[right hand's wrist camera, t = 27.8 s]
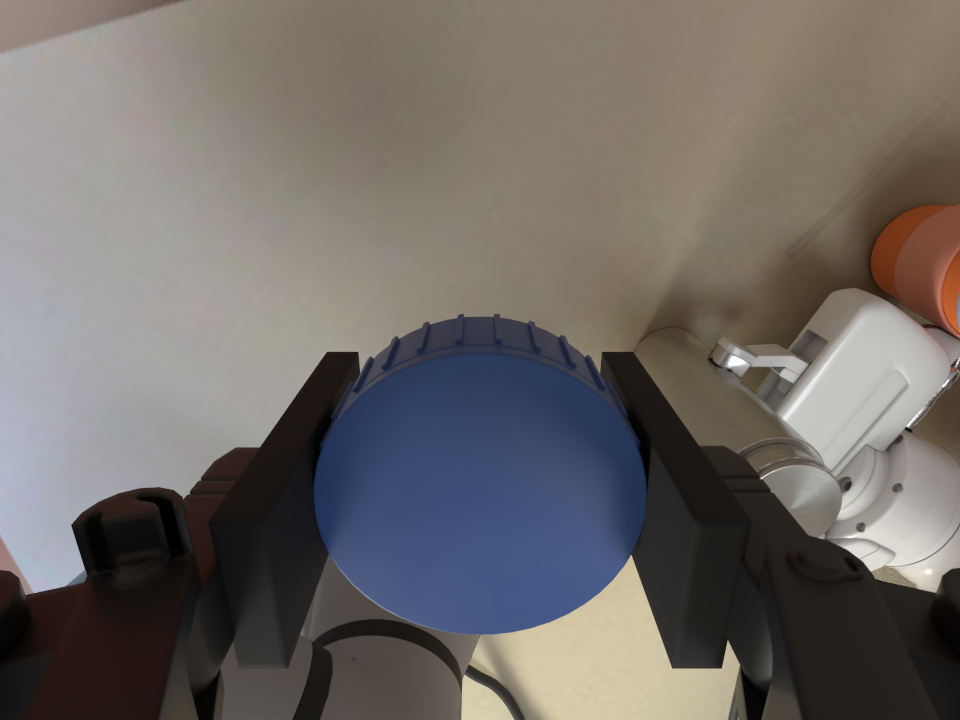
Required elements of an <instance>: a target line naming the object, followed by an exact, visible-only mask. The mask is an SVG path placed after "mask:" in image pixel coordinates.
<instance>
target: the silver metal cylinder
mask: <svg viewBox="0 0 960 720" xmlns="http://www.w3.org/2000/svg"><path fill="white" fill-rule="evenodd" d="M710 353H711V351H710V350H709V349H708V348H706V347H705V346H704V345H703V344H702V343H701V342H700V341H699V340H698V339H697V338H696V337H695V336H694V335H692V334H691V333H690V332H688V331H686V330H683V329H680V328H663V329H659V330H657V331H654V332H652V333H650V334H649V335H648V336H646V337H645V338H644V339H643V340H642V341H641V342H640V343H639V345H638V346H637V348H636V350H635V352H634V354H635V355H636V356H637V358H638V359H639V361H640V362H641V364H642V365H643V366H644V368H645V369H646V371H647V372H648V374H649V375H650V376H651V378H652V379H653V381H654V382H655V384H656V385H657V386H658V388H659V389H660V391H661V392H662V394H663V395H664V396H665V398H666V399H667V401H668V402H669V403H670V405H671V406H672V408H673V409H674V411H675V412H676V413H677V415H678V416H679V418H680V419H681V421H682V422H683V423H684V425H685V426H686V428H687V429H688V431H689V432H690V433H691V435H692V436H693V438H694V439H695V441H696V442H697V443H698V445H699V446H726V447H727V448H729V449H730V450H732V451H734V452H735V453H737V454H738V455H740V456H742V457H743V458H745V459H746V460H747V461H748V462H749V463H750V465H751V466H752V467H753V468H754V469H755V471H756V472H757V473H758V474H759V476H760V479H763V480H764V482H765V483H766V484H767V485H768V487H769V488H770V489H771V493H774V494H775V495H776V496H777V498H778V499H779V500H780V501H781V502H782V504H783V505H784V506H785V507H786V509H787V510H788V511H789V512H790V514H791V515H792V516H793V517H794V518H795V520H796V521H797V522H798V523H799V525H800V526H801V527H802V528H803V529H804V531H805V532H806V533H807V534H808V535H809V536H813V537H817V538H818V537H820V536H821V535H823V534H824V533H825V532H826V531H827V530H828V529H829V528H830V527H831V526H832V524H833V523H834V522H835V520H836V519H837V517H838V515H839V512H840V510H841V506H842V492H841V488H840V486H839V484H838V482H837V480H836V478H835V476H834V474H833V473H832V471H831V470H830V469H829V468H828V467H827V466H826V465H825V464H824V461H823V459H822V457H821V455H820V454H819V453H818V451H817V450H816V449H815V448H814V447H813V446H812V445H811V444H809V443H808V442H807V441H806V440H805V439H804V438H803V437H802V436H801V435H800V434H799V433H798V432H797V431H796V430H794V429H793V428H792V427H791V426H790V425H789V424H788V423H787V422H786V421H785V420H784V419H783V418H782V417H781V416H779V415H778V414H777V413H776V412H775V411H774V410H773V409H772V408H771V407H770V406H769V405H768V404H767V403H765V402H764V401H763V400H762V399H761V398H760V397H759V396H758V395H757V394H756V393H755V392H754V391H753V390H752V389H750V388H749V387H748V386H747V385H746V384H745V383H744V382H743V381H742V380H741V379H740V378H739V377H738V376H737V375H735V374H734V373H733V372H731V371H730V370H729V369H725V368H722V367H721V366H719V365H717V364H716V363H715V362H714V361H713V359H711V358H709V356H708V355H709V354H710Z"/></svg>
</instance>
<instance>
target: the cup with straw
mask: <svg viewBox="0 0 960 720" xmlns="http://www.w3.org/2000/svg"><path fill="white" fill-rule="evenodd" d="M871 272H872V275H873V278H874V280H875V282H876V283H877V285H878V286H879V287H880V288H881V289H882V290H883V291H884V292H886V293H887V294H889V295H891V296H893V297H894V298H896V299H898V300H900V301H901V302H903V304H904V305H905V306H906V307H907V308H909V309H910V310H911V311H913V312H914V313H916V314H918V315H920V316H921V317H923V318H925V319H927V320H928V321H930V322H932V323H934V324H935V325H937V326H939V327H941V328H942V329H944V330H946V331H948V332H950V333H951V334H953V335H955V336H957V337H958V338H960V204H958V205H927V206H921V207H917V208H914V209H911V210H909V211H907V212H905V213H903V214H901V215H900V216H898V217H897V218H895V219H894V220H893V221H892V222H891V223H890V224H889V225H887V227H886V228H885V229H884V230H883V231H882V233H881V234H880V236H879V237H878V239H877V241H876V243H875V245H874V248H873V251H872V255H871Z"/></svg>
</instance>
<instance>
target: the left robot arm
mask: <svg viewBox="0 0 960 720" xmlns="http://www.w3.org/2000/svg"><path fill="white" fill-rule="evenodd" d="M708 356H709V358H711V359H713V361H714V362H715V363H716V364H717V365H719V366H721V367H722V368H725V369H729V370H730V371H731V372H733V373H734V374H735V375H737V376H739V377H742V376H743V375H744V373H745V372H746V371H747V370H748V368H749V367H769V368H771V369H772V370H771V372H770V373H769V374H768V376H767V377H766V378H765V380H764V381H763V382H762V383H761V385H760V386H759V387H758V389H757V390H756V391H755V393H756V394H757V395H758V396H759V397H760V398H761V399H762V400H763V401H764V402H765V403H767V404H768V405H769V406H770V407H771V408H772V409H773V410H774V411H775V412H776V413H777V414H778V415H779V416H781V417H782V418H783V419H784V420H785V421H786V422H787V423H788V424H789V425H790V426H791V427H792V428H793V429H794V430H796V431H797V432H798V433H799V434H800V435H801V436H802V437H803V438H804V439H805V440H806V441H807V442H808V443H809V444H811V445H812V446H813V447H814V448H815V449H816V450H817V451H818V453H819V454H820V455H821V457H822V459H823V461H824V464H825V465H826V466H827V467H828V468H829V469H830V470H831V471H832V473H833V474H834V476H835V478H836V480H837V482H838V484H839V486H840V488H841V492H842V506H841V510H840V512H839V515H838V517H837V519H836V520H835V522H834V523H833V524H832V526H831V527H830V528H829V529H828V530H827V531H826V532H825V533H824V534H823V535H821V536H820V537H818V538H820V539H824V540H828V541H830V542H832V543H834V544H836V545H838V546H840V547H842V548H845V549H847V550H848V551H850V552H851V553H852V554H853V555H855V556H856V557H857V558H859V559H860V560H861V561H863V562H864V564H865V565H866V566H867V568H868V569H869V570H870V572H871V571H873V570H876V569H879V568H881V567H883V566H887V567H891V568H894V569H896V570H897V571H898V572H899V573H900V574H902V575H903V576H904V577H906V578H907V579H909V580H910V581H911V582H913V583H915V584H916V589H920V590H925V591H930V592H934V593H936V592H937V589H938V586H939V583H940V581H941V578H942V575H944V574H945V573H947V572H948V571H949V570H951V569H954V568H960V462H959V461H958V460H957V459H956V458H955V457H954V456H953V455H952V454H950V453H949V452H947V451H946V450H945V449H943V448H941V447H939V446H938V445H936V444H934V443H932V442H930V441H928V440H927V439H925V438H923V437H921V436H919V435H917V434H915V433H914V432H912V430H913V429H914V427H916V426H917V425H918V423H919V422H920V421H921V420H922V419H923V418H924V417H925V416H926V415H927V413H928V412H929V411H930V410H931V408H932V406H933V405H934V403H935V402H936V401H937V399H938V398H939V397H940V395H942V394H943V393H944V391H945V390H948V389H949V388H951V387H952V386H953V384H954V383H955V382H956V381H957V379H958V378H959V376H960V370H958V367H959V365H960V340H959V339H958V338H957V337H956V336H954V335H952V334H951V333H949V332H947V331H946V330H944V329H942V328H941V327H939V326H936V325H931V324H924V325H920V324H919V323H917V322H916V321H915V320H914V319H912V318H911V317H910V316H908V315H907V314H906V313H904V312H903V311H902V310H900V309H899V308H897V307H896V306H894V305H893V304H891V303H889V302H888V301H886V300H884V299H882V298H880V297H878V296H876V295H873V294H871V293H869V292H866V291H863V290H861V289H858V288H849V289H843V290H838V291H834V292H832V293H831V294H830V295H829V296H828V297H827V299H826V300H825V301H824V303H823V304H822V305H821V307H820V308H819V309H818V310H817V312H816V313H815V314H814V316H813V317H812V318H811V320H810V321H809V322H808V323H807V325H806V326H805V327H804V329H803V330H802V331H801V333H800V334H799V335H798V336H797V338H796V339H795V340H794V342H793V343H792V344H791V346H790V347H789V348H788V350H787V349H785V348H783V347H781V346H779V345H778V344H760V345H745V346H744V347H743V346H741V345H739V344H737V343H735V342H733V341H731V340H730V339H728V338H726V337H723V336H722V337H721V339H720V340H719V341H718V343H717V344H716V346H715V347H714V348H713V350H712V351H711V353H710V354H709V355H708Z"/></svg>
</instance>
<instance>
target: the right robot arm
mask: <svg viewBox="0 0 960 720" xmlns="http://www.w3.org/2000/svg"><path fill="white" fill-rule="evenodd" d="M359 375H360V367H359V355H358V352H327V353H326V354H325V356H324V357H323V358H322V360H321V361H320V363H319V364H318V366H317V367H316V368H315V370H314V371H313V373H312V374H311V376H310V377H309V378H308V380H307V381H306V383H305V384H304V385H303V387H302V388H301V390H300V391H299V393H298V394H297V395H296V397H295V398H294V400H293V401H292V403H291V404H290V405H289V407H288V408H287V410H286V411H285V413H284V414H283V415H282V417H281V418H280V420H279V421H278V423H277V424H276V425H275V427H274V428H273V430H272V431H271V433H270V434H269V435H268V437H267V438H266V440H265V441H264V442H263V444H262V445H261V447H260V448H235V449H233V450H232V451H230V452H228V453H227V454H225V455H224V456H222V457H221V458H219V459H217V460H216V461H214V463H213V464H212V465H211V466H210V467H209V469H208V470H207V471H206V472H205V474H204V475H203V476H202V477H201V481H198V482H197V483H196V485H195V486H194V487H193V488H192V490H191V491H190V495H187V496H186V497H185V498H184V499H183V498H182V496H180V495H179V494H178V493H177V492H175V491H174V490H170V489H165V488H160V487H156V488H140V489H135V490H131V491H127V492H123V493H119V494H116V495H114V496H112V497H109V498H107V499H104V500H102V501H100V502H98V503H96V504H95V505H93V506H92V507H90V508H89V509H87V510H86V511H84V512H82V513H81V514H80V516H79V517H78V518H77V519H76V520H75V521H74V522H73V524H72V525H71V526H72V529H73V532H74V535H75V538H76V542H77V545H78V548H79V551H80V554H81V558H82V561H83V564H84V567H85V570H84V571H83V572H82V573H81V574H80V575H78V576H77V577H76V578H75V579H74V580H72V581H71V582H70V583H69V584H68V585H66V586H65V587H61V588H57V589H52V590H47V591H43V592H38V593H33V594H29V595H25V593H24V590H23V587H22V585H21V582H20V579H19V578H18V577H17V576H15V575H14V574H13V573H11V572H10V571H3V570H0V720H461V707H462V679H463V677H464V674H465V675H466V676H468V677H469V678H471V679H473V680H474V681H476V682H478V683H480V684H482V685H484V686H486V687H488V688H490V689H491V690H493V691H494V692H495V693H496V694H497V695H498V696H499V697H500V698H501V699H502V701H503V702H504V703H505V705H506V706H507V708H508V709H509V711H510V713H511V714H512V716H513V718H514V720H525V719H524V717H523V715H522V713H521V712H520V710H519V708H518V706H517V704H516V703H515V701H514V699H513V698H512V696H511V695H510V694H509V692H508V691H507V690H506V689H505V688H504V687H503V686H502V685H501V684H500V683H499V682H498V681H497V680H495V679H494V678H492V677H490V676H488V675H486V674H484V673H482V672H480V671H479V670H477V669H475V668H474V667H472V666H471V665H469V662H470V660H471V657H472V655H473V652H474V649H475V647H476V644H477V642H478V639H479V637H480V635H472V634H460V633H451V632H446V631H440V630H435V629H431V628H428V627H425V626H421V625H418V624H415V623H412V622H410V621H408V620H405V619H403V618H400V617H398V616H396V615H394V614H392V613H391V612H389V611H387V610H385V609H383V608H381V607H380V606H378V605H377V604H376V603H374V602H373V601H371V600H370V599H369V598H367V597H366V596H365V595H363V594H362V593H361V592H360V591H359V590H358V589H357V588H356V587H354V586H353V585H352V584H351V583H350V582H349V580H348V579H347V578H346V577H345V576H344V575H343V573H342V572H341V571H340V570H339V569H338V567H337V565H336V564H335V562H334V561H333V559H332V558H331V556H330V555H329V553H328V551H327V549H326V547H325V544H324V542H323V540H322V538H321V535H320V532H319V528H318V525H317V520H316V512H315V504H314V495H313V481H314V475H315V469H316V464H317V461H318V458H319V455H320V452H321V450H319V446H320V444H321V442H322V440H323V438H324V436H325V434H326V432H327V430H328V428H329V426H330V424H331V422H332V420H333V419H331V417H332V415H333V414H334V412H335V410H336V408H337V406H338V404H339V402H340V400H341V398H342V396H343V394H344V393H345V391H346V389H347V387H348V385H349V383H350V382H353V383H355V381H356V380H357V378H358V377H359ZM600 375H601V376H602V377H603V379H604V380H605V381H607V380H609V381H610V382H611V384H612V386H613V388H614V390H615V392H616V394H617V395H618V397H619V399H620V401H621V403H622V405H623V407H624V409H625V411H626V413H627V414H628V417H627V418H628V420H629V422H630V424H631V426H632V428H633V430H634V432H635V434H636V436H637V438H638V439H639V441H640V444H641V447H640V448H639V450H640V453H641V455H642V458H643V462H644V466H645V471H646V476H647V499H646V507H645V515H644V522H643V527H642V531H641V534H640V537H639V539H638V541H637V544H636V546H635V548H634V550H633V552H632V554H631V555H632V557H633V560H634V563H635V566H636V568H637V571H638V574H639V577H640V580H641V582H642V585H643V588H644V591H645V594H646V596H647V599H648V602H649V605H650V607H651V610H652V613H653V616H654V619H655V621H656V624H657V627H658V630H659V632H660V635H661V638H662V641H663V644H664V646H665V649H666V652H667V655H668V658H669V660H670V663H671V666H672V668H722V665H723V660H724V655H725V650H726V645H727V641H729V643H730V645H731V647H732V649H733V651H734V653H735V655H736V657H737V659H738V661H739V663H740V668H739V672H738V676H737V681H736V685H735V690H734V694H733V699H732V703H731V708H730V712H729V718H728V720H737V719H738V718H739V720H960V568H954V569H951V570H949V571H948V572H947V573H945V574H944V575H942V578H941V581H940V583H939V586H938V589H937V592H936V593H934V592H930V591H925V590H920V589H916V588H911V587H906V586H902V585H897V584H892V583H888V582H884V581H880V580H877V579H875V578H874V576H873V574H872V573H871V572H870V570H869V569H868V568H867V566H866V565H865V564H864V562H863V561H861V560H860V559H859V558H857V557H856V556H855V555H853V554H852V553H851V552H850V551H848V550H847V549H845V548H842V547H840V546H838V545H836V544H834V543H832V542H830V541H828V540H824V539H820V538H817V537H813V536H809V535H808V534H807V533H806V532H805V531H804V529H803V528H802V527H801V526H800V525H799V523H798V522H797V521H796V520H795V518H794V517H793V516H792V515H791V514H790V512H789V511H788V510H787V509H786V507H785V506H784V505H783V504H782V502H781V501H780V500H779V499H778V498H777V496H776V495H775V494H774V493H771V489H770V488H769V487H768V485H767V484H766V483H765V482H764V480H763V479H760V476H759V474H758V473H757V472H756V471H755V469H754V468H753V467H752V466H751V465H750V463H749V462H748V461H747V460H746V459H745V458H743V457H742V456H740V455H738V454H737V453H735V452H734V451H732V450H730V449H729V448H727V447H726V446H699V445H698V443H697V442H696V441H695V439H694V438H693V436H692V435H691V433H690V432H689V431H688V429H687V428H686V426H685V425H684V423H683V422H682V421H681V419H680V418H679V416H678V415H677V413H676V412H675V411H674V409H673V408H672V406H671V405H670V403H669V402H668V401H667V399H666V398H665V396H664V395H663V394H662V392H661V391H660V389H659V388H658V386H657V385H656V384H655V382H654V381H653V379H652V378H651V376H650V375H649V374H648V372H647V371H646V369H645V368H644V366H643V365H642V364H641V362H640V361H639V359H638V358H637V356H636V355H635V354H634V352H602V359H601V371H600ZM300 633H301V635H300Z"/></svg>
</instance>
